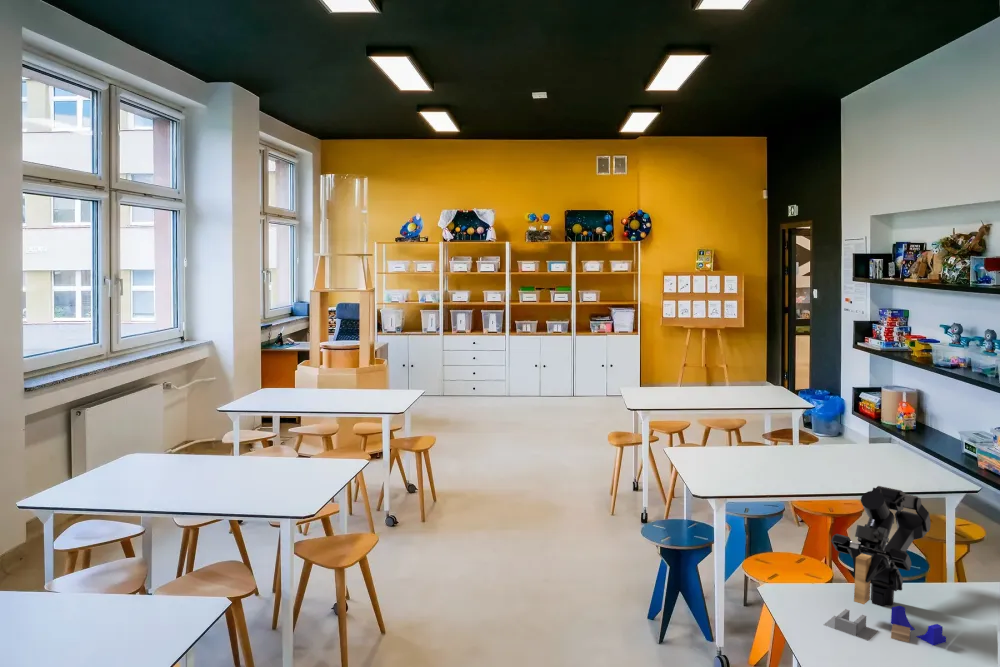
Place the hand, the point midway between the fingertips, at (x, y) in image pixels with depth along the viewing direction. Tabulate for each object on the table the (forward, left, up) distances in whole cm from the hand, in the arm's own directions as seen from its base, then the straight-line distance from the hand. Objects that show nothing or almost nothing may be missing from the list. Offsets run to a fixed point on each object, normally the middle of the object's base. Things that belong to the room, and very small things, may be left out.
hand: (860, 580), depth 190 cm
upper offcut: (+1, +10, -11) cm, 15 cm away
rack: (+6, 0, -13) cm, 14 cm away
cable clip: (-4, +13, -13) cm, 19 cm away
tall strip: (-1, 0, -6) cm, 6 cm away
